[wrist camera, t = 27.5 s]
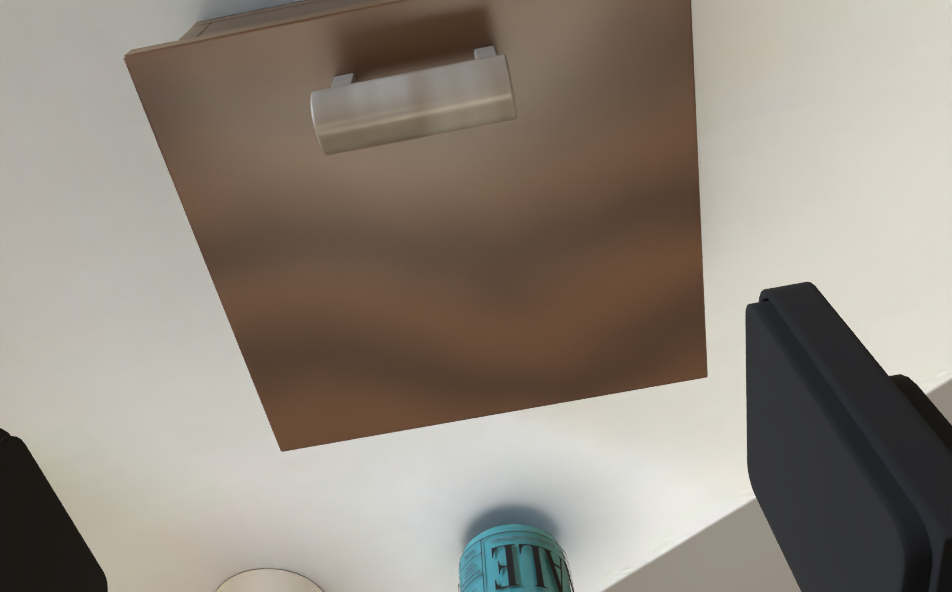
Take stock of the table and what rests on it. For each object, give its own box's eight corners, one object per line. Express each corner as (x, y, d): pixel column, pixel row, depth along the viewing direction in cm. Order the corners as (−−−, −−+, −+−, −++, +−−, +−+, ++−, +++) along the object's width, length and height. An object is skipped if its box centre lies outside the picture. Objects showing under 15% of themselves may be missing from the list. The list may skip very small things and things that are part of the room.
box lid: (129, 49, 26) (67, 98, 21) (682, -61, 25) (737, -35, 21) (283, 440, 34) (261, 534, 30) (702, 366, 33) (744, 451, 29)
